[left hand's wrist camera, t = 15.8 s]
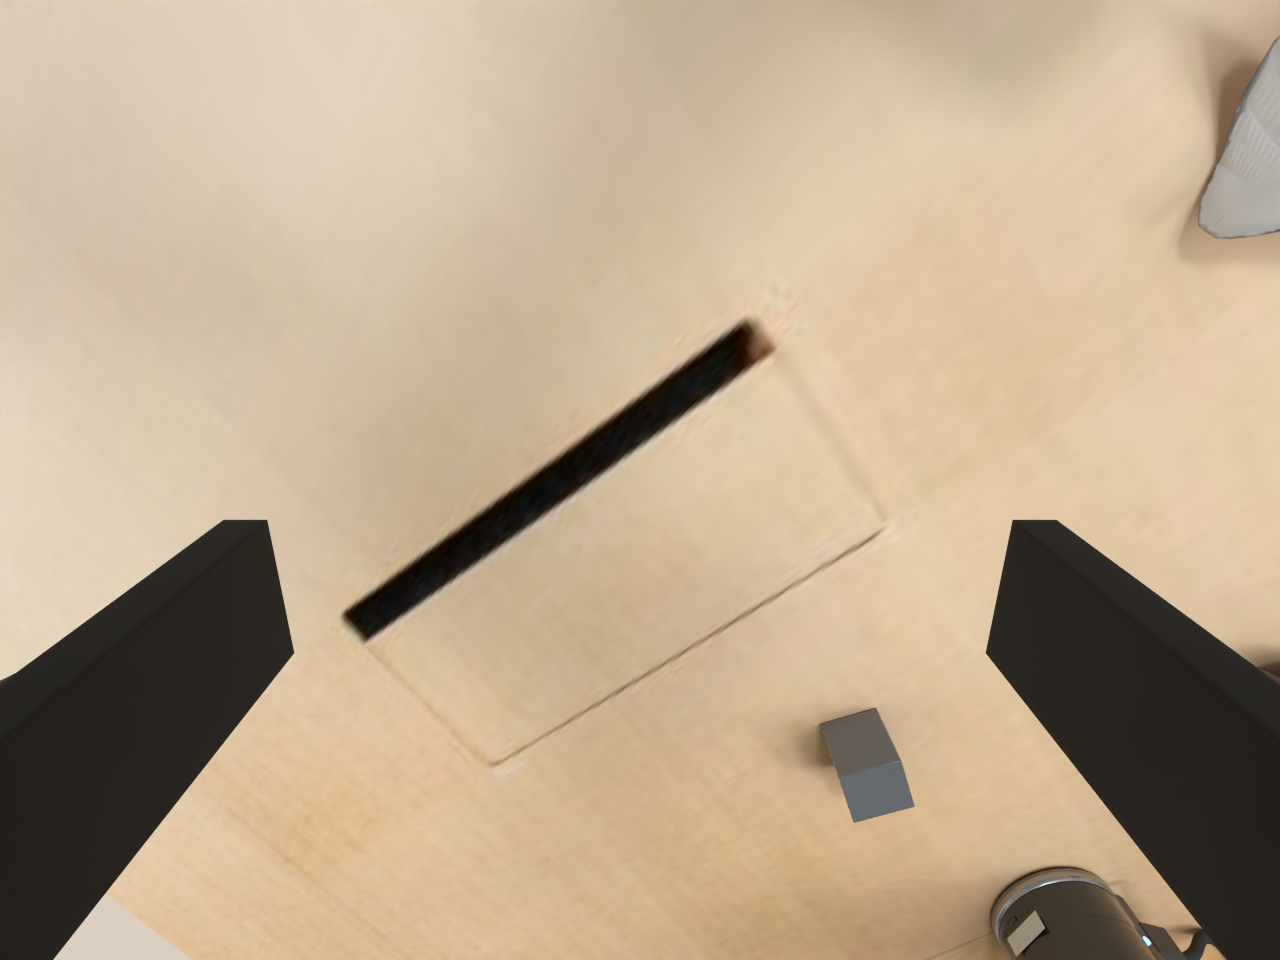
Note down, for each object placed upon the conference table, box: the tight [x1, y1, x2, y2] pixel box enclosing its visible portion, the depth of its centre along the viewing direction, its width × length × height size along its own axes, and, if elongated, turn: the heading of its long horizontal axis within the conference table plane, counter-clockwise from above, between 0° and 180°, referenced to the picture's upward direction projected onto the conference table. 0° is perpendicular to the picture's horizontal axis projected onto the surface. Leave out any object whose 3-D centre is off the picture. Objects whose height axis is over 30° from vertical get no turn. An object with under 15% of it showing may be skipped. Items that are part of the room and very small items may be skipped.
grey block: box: [820, 708, 914, 823], centre depth 47 cm, size 4×4×5 cm
